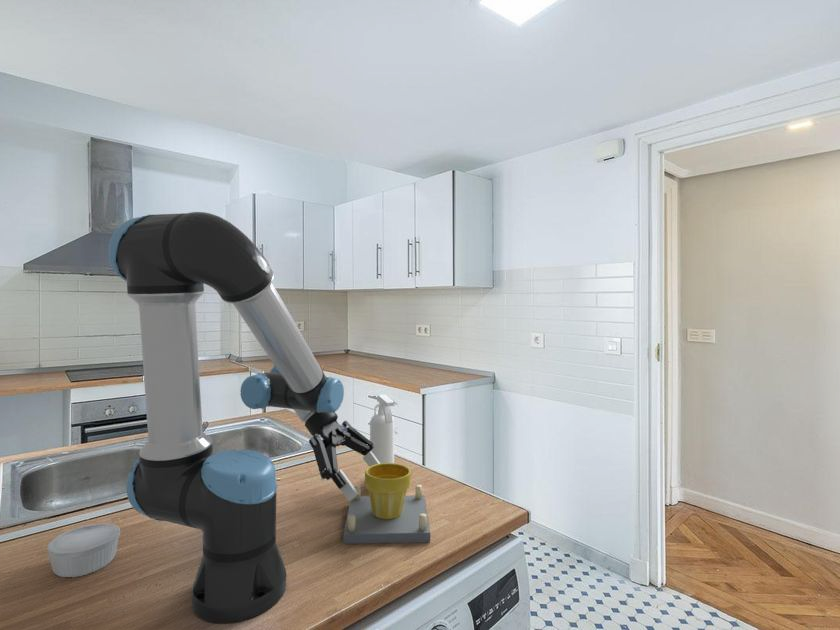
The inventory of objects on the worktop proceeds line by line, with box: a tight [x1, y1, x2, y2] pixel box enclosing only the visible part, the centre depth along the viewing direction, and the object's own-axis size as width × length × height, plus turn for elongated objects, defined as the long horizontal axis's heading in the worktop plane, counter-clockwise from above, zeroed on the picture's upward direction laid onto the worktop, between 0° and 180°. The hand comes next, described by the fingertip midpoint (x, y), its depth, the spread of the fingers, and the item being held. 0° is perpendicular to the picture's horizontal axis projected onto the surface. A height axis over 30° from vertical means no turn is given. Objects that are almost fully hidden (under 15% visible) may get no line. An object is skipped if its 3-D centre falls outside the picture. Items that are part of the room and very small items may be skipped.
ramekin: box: [46, 523, 121, 578], centre depth 87 cm, size 11×11×5 cm
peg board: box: [343, 484, 431, 545], centre depth 104 cm, size 18×18×5 cm
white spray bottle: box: [369, 393, 396, 463], centre depth 123 cm, size 7×12×25 cm, turn 25°
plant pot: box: [364, 462, 412, 519], centre depth 104 cm, size 10×10×10 cm
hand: (369, 486), depth 106 cm, fingers open, 13 cm apart
